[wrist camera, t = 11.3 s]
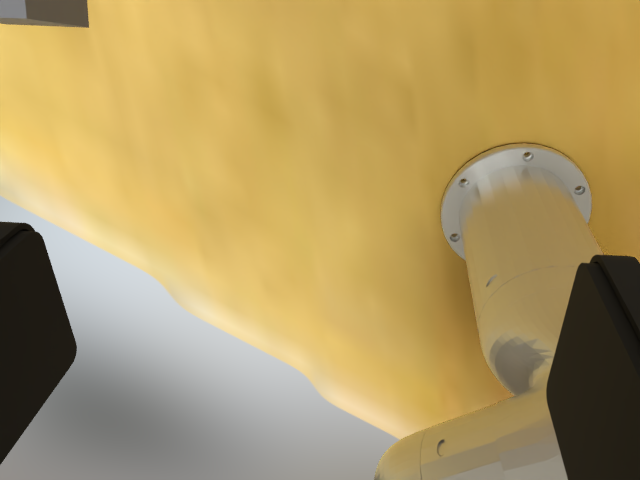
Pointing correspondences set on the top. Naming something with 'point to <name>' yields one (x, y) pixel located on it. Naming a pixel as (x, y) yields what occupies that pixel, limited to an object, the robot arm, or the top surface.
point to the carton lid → (44, 12)
